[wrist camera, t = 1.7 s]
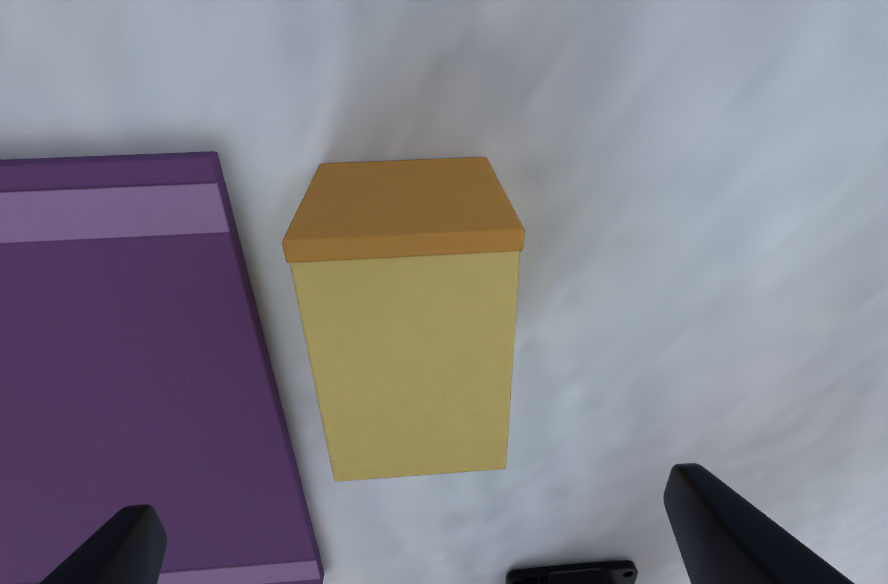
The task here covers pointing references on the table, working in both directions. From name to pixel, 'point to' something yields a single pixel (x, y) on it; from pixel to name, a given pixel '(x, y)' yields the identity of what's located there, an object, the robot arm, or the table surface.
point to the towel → (139, 374)
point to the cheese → (409, 313)
